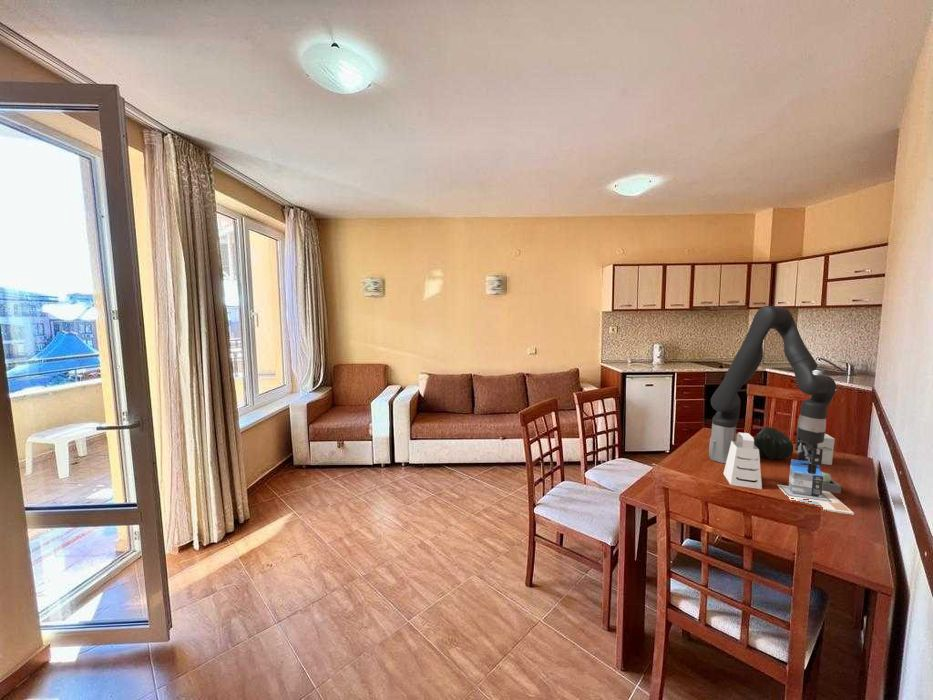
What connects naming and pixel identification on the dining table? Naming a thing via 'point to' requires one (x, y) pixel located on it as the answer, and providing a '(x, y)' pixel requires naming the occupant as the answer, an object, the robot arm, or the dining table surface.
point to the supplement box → (827, 449)
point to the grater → (743, 462)
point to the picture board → (819, 500)
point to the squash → (773, 444)
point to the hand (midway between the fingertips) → (805, 468)
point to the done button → (826, 477)
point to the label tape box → (805, 479)
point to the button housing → (832, 487)
